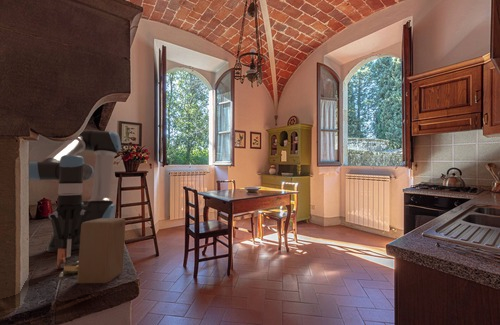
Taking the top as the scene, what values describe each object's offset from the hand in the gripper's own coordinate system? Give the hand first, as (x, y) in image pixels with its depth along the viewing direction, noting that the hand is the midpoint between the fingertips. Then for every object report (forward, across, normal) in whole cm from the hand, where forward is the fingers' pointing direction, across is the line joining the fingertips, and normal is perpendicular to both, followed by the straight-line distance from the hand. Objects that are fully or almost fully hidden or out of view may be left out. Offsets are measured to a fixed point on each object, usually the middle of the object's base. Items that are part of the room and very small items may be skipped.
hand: (66, 256), depth 87 cm
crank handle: (+4, +1, +5) cm, 7 cm away
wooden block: (+5, -1, +22) cm, 23 cm away
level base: (+5, +1, +8) cm, 10 cm away
